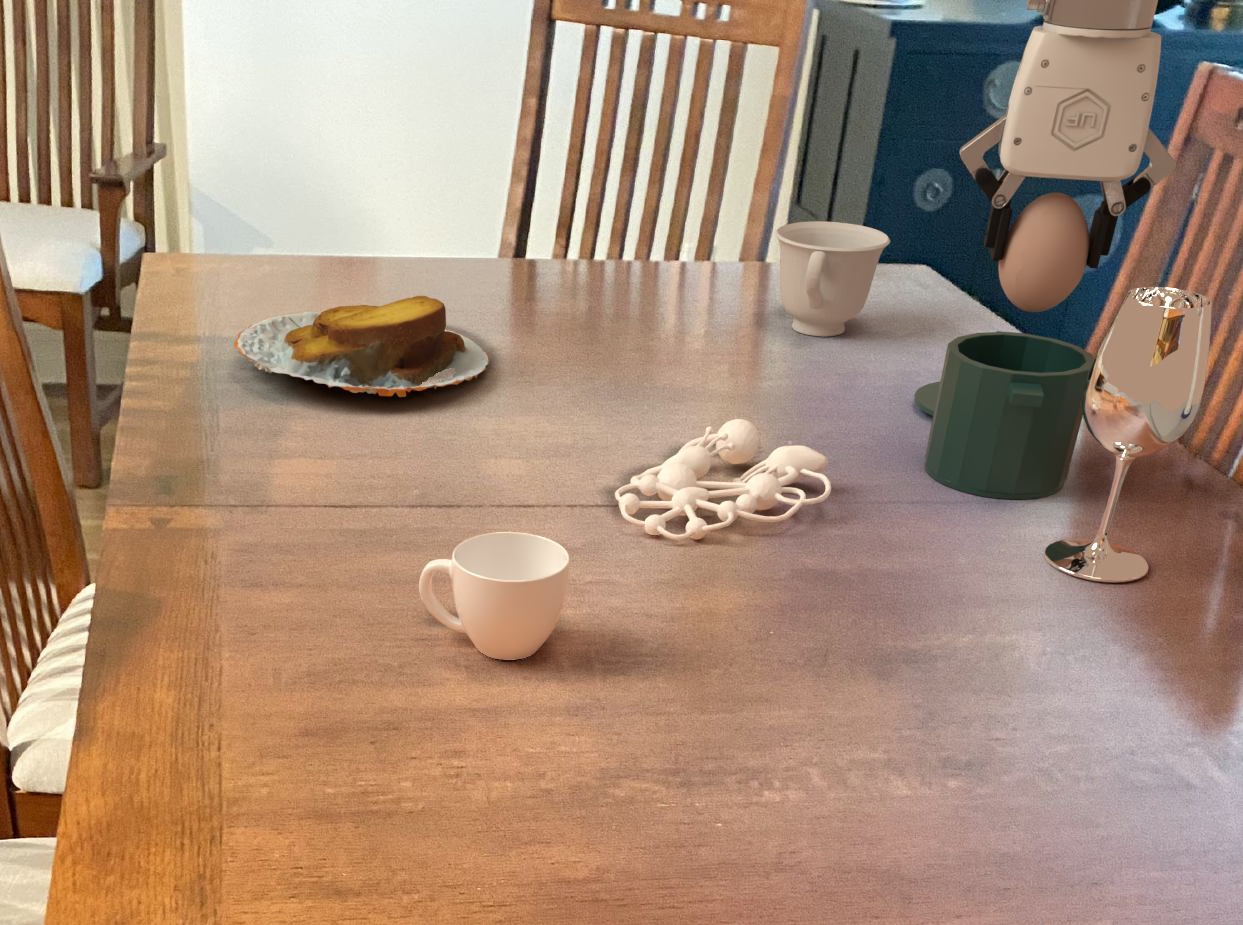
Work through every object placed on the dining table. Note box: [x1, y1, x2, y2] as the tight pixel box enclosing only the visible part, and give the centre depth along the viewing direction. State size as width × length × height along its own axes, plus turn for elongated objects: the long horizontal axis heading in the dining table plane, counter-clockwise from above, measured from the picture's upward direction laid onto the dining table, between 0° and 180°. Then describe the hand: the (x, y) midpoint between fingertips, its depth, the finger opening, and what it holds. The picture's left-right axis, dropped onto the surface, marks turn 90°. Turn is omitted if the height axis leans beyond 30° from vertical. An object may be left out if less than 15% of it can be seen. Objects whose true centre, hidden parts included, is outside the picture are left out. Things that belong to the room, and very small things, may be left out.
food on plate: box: [233, 295, 491, 398], centre depth 149 cm, size 25×25×7 cm
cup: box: [418, 531, 571, 659], centre depth 101 cm, size 8×10×7 cm
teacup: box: [774, 220, 891, 338], centre depth 161 cm, size 12×15×10 cm
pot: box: [924, 330, 1095, 500], centre depth 127 cm, size 12×17×10 cm
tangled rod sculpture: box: [614, 418, 832, 541], centre depth 122 cm, size 19×14×4 cm
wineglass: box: [1043, 286, 1213, 584], centre depth 110 cm, size 8×8×20 cm
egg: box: [997, 191, 1090, 313], centre depth 120 cm, size 7×7×9 cm
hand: (1043, 258), depth 120 cm, fingers closed on egg, 6 cm apart
